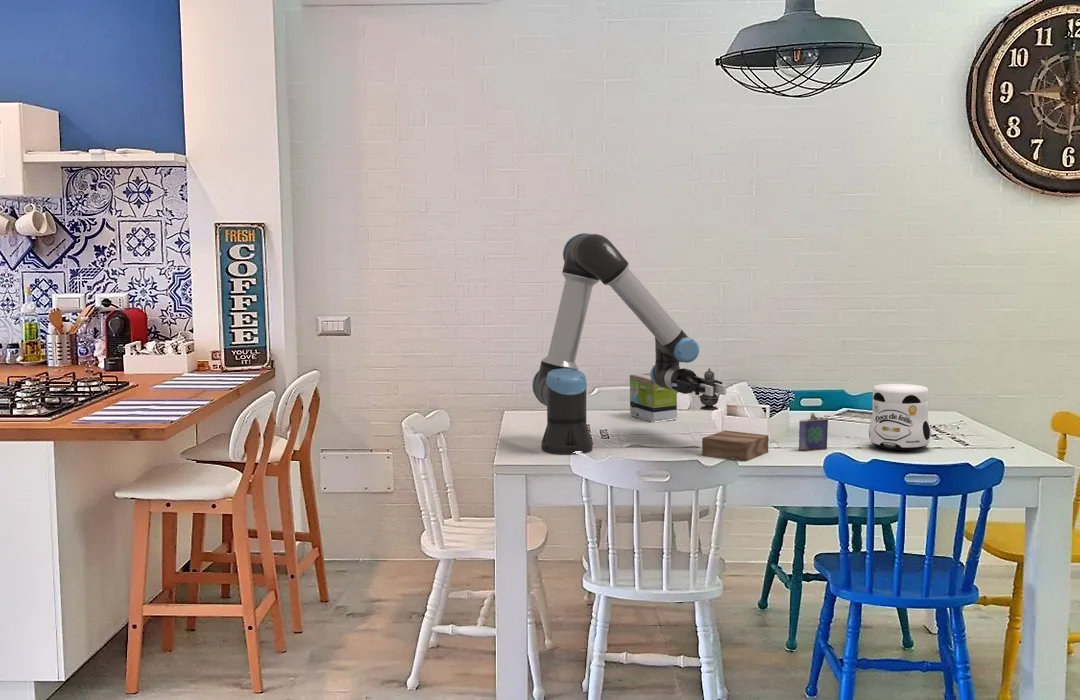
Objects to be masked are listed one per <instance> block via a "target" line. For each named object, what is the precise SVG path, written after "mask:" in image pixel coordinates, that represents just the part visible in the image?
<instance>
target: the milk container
mask: <svg viewBox="0 0 1080 700" xmlns="http://www.w3.org/2000/svg"><path fill="white" fill-rule="evenodd" d="M871 413H872V414H871V419H870V423H869V427H868V436H869V440H870V443H871V444H873V445H874V446H876V447H878V448H882V449H886V450H891V451H892V450H893V451H914V450H920V449H924V448H926V447H927V446H928V445H929V443H930V440H931V435H932V430H931V426H930V421H929V389H928V387H926V386H924V385H920V384H912V383H881V384H876V385H874V386H873V389H872V412H871Z"/></svg>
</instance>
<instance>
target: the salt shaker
mask: <svg viewBox="0 0 1080 700" xmlns="http://www.w3.org/2000/svg"><path fill="white" fill-rule="evenodd" d="M703 375H704V376H703V378H704V383H703V384H705V385H709V386H712V387H713V396H708V395H705V394H701V395H698V398H699V401H700V402H701V404H702V405H704V406H701V407H700V410H702V411H716V410H719V407H718V406H716V405H717V404H718V402H719V398H720V396H719V395H717V393H715V391H714V385H715V383H714V380H715V373H714V372H713V371H712V370H711V368H710V367H709V368H708V369H707V371H705V372H704V373H703Z"/></svg>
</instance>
